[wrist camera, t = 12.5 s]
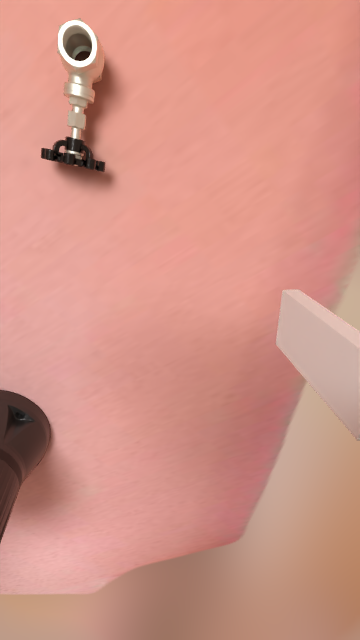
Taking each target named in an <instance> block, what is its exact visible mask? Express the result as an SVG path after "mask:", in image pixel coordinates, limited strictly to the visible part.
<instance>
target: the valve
mask: <svg viewBox="0 0 360 640" xmlns="http://www.w3.org/2000/svg"><path fill="white" fill-rule="evenodd" d="M81 51H88V52H90V53H91V55H90V56H89V58H88V59H86V60H84V61H75V57H76V56H77V54H78V53H79V52H81ZM58 53H59V55H60V58H61V61H62V64H63V66H64V68H65V70H66V71H67V72H68V82H65V83H64V95H65V96H66V97H68V98H69V103H70V105H72V111H68V124H67V125H68V126H69V127H71V137H66V138H65V140H58V141H56V142H55V143H54V145H53V149H52V150H51V149H44V148H41V158H43V159H46V160H51V161H57V162H61V163H64V164H69V165H73V166H79V167H82V166H83V167H84V168H87V169H92V170H97V171H101V172H104V171H105V162H102V161H96V160H94V159H93V154H92V151H91V149H90V148H89V147H88V146H86V145H85V141H83V140H80V139H81V130H85V127H86V115H84V109H87V106H88V103H94V98H95V91H94V90H92V84H93V83H96V82H99V81H101V79H102V71H103V68H104V62H105V57H104V51H103V48H102V45H101V43H100V41H99V40H98V37H97V36H96V35H95V34H94V32H93V31H92V30H91V29H90V28H89V27H88V26H87V25H86V24H85V23H84V22H83V21H82V20H81V19H76V20H72V21H69V22H67V23H64V24H62V25H60V26H59V34H58ZM60 146H65V151H64V152H67V153H64V155H63V153H60V152H59V148H60ZM84 151H85V152H86V160H83V158H82V156H84Z"/></svg>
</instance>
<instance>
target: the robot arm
mask: <svg viewBox="0 0 360 640" xmlns="http://www.w3.org/2000/svg"><path fill="white" fill-rule="evenodd" d="M276 345H277V346H278V347H279V349H280V350H281V351H282V352H283V353H284V355H285V356H286V357H287V358H288V359H289V360H290V362H291V363H292V364H293V365H294V366H295V367H296V369H297V370H298V371H299V372H300V373H301V375H302V376H303V377H304V378H305V379H306V380H307V382H308V383H309V384H310V385H311V386H312V388H313V389H314V390H315V391H316V392H317V393H318V395H319V396H320V397H321V398H322V399H323V400H324V402H325V403H326V404H327V405H328V406H329V408H330V409H331V410H332V411H333V412H334V413H335V415H336V416H337V417H338V418H339V419H340V421H342V423H343V424H344V425H345V426H346V428H347V429H348V430H349V431H350V432H351V434H352V435H353V436H354V437H355V438H356V439H357V440H360V331H358V330H357V329H355V328H354V327H352V326H351V325H349V324H348V323H347V322H345V321H344V320H342V319H341V318H339V317H338V316H336V315H335V314H334V313H332V312H331V311H329V310H328V309H326V308H325V307H323V306H322V305H320V304H319V303H318V302H316V301H315V300H313V299H312V298H310V297H309V296H307V295H306V294H304V293H303V292H301V291H300V290H283V291H282V299H281V307H280V314H279V322H278V330H277V338H276ZM49 440H50V426H49V423H48V420H47V418H46V416H45V415H44V413H43V412H42V411H41V410H40V408H39V407H38V406H36V405H35V404H34V403H33V402H31V401H30V400H28V399H27V398H25V397H23V396H21V395H18V394H15V393H12V392H8V391H2V390H0V543H1V540H2V537H3V534H4V532H5V529H6V526H7V523H8V520H9V517H10V515H11V512H12V509H13V506H14V503H15V501H16V498H17V495H18V492H19V489H20V486H21V484H22V483H23V481H24V480H25V479H26V478H27V477H28V475H29V474H30V473H31V472H32V470H33V469H34V468H35V467H36V466H37V465H38V464H39V462H40V461H41V460H42V458H43V456H44V454H45V452H46V449H47V446H48V443H49Z"/></svg>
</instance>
